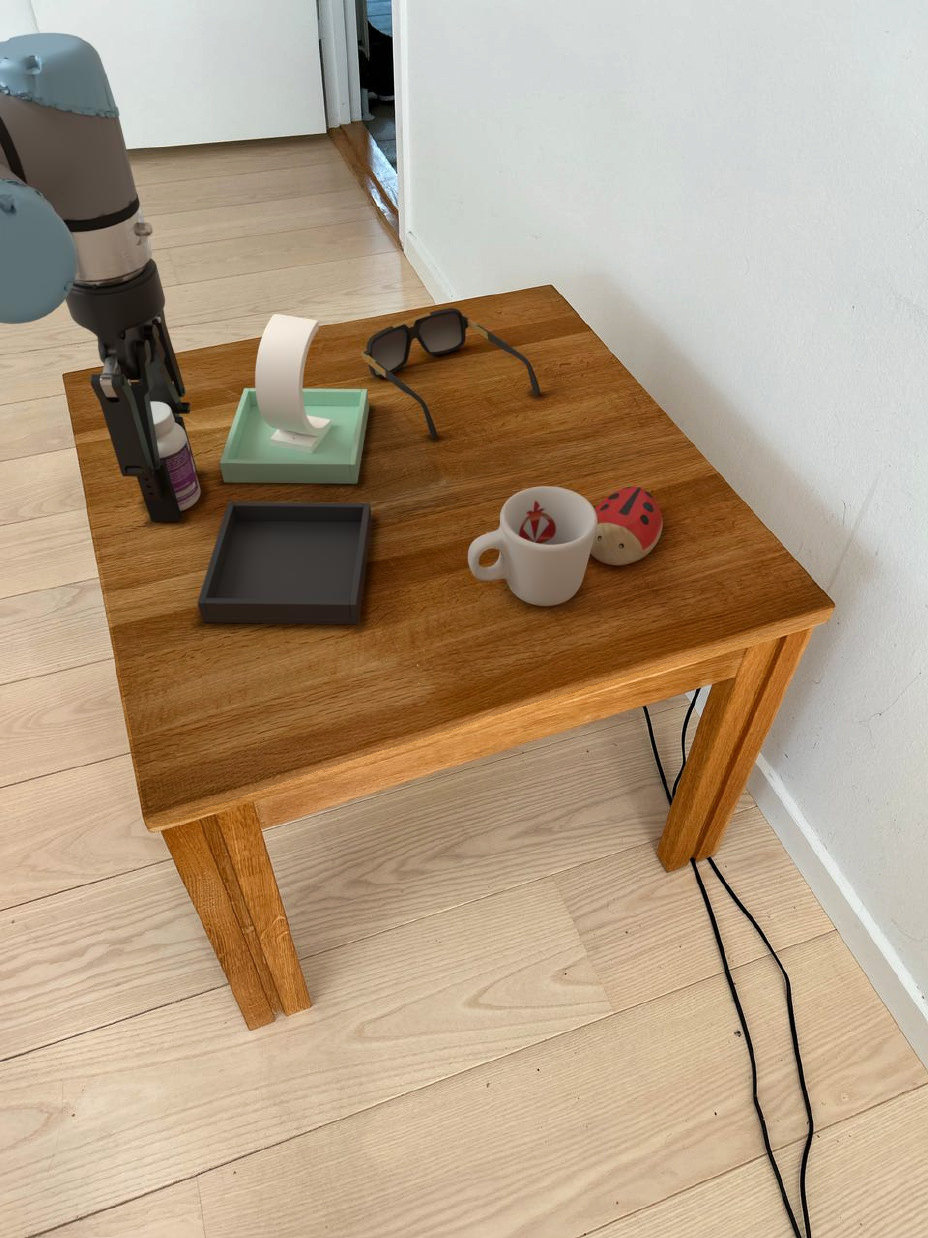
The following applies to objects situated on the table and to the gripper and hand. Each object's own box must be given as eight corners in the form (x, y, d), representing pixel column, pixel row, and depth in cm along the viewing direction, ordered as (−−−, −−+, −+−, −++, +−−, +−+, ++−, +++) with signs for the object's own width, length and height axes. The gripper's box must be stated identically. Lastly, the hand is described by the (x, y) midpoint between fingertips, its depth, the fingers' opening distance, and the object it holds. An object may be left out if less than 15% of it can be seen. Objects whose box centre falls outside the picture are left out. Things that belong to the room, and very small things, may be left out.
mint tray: (223, 482, 91) (219, 462, 90) (248, 406, 101) (244, 387, 99) (357, 483, 91) (355, 464, 89) (369, 407, 100) (367, 388, 99)
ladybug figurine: (570, 558, 84) (574, 528, 81) (604, 495, 90) (608, 465, 87) (642, 579, 82) (648, 549, 79) (671, 513, 88) (678, 483, 85)
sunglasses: (434, 440, 96) (433, 399, 93) (358, 376, 105) (355, 335, 101) (539, 396, 102) (542, 355, 98) (459, 339, 110) (459, 299, 107)
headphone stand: (331, 426, 97) (318, 320, 88) (307, 459, 93) (291, 352, 84) (291, 418, 98) (274, 313, 89) (266, 451, 94) (245, 344, 85)
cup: (481, 632, 77) (482, 562, 72) (456, 569, 83) (455, 499, 77) (602, 607, 79) (612, 537, 74) (570, 547, 85) (577, 477, 79)
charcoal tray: (202, 622, 78) (197, 602, 77) (232, 521, 87) (228, 501, 86) (358, 624, 78) (356, 604, 76) (372, 522, 87) (370, 502, 85)
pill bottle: (213, 492, 90) (192, 407, 83) (174, 522, 87) (149, 437, 80) (173, 474, 92) (149, 390, 85) (133, 502, 89) (105, 418, 82)
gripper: (120, 327, 66) (191, 563, 83) (181, 214, 79) (232, 437, 96) (16, 326, 66) (108, 562, 83) (94, 214, 80) (160, 437, 96)
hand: (174, 495), depth 90 cm, fingers open, 6 cm apart
